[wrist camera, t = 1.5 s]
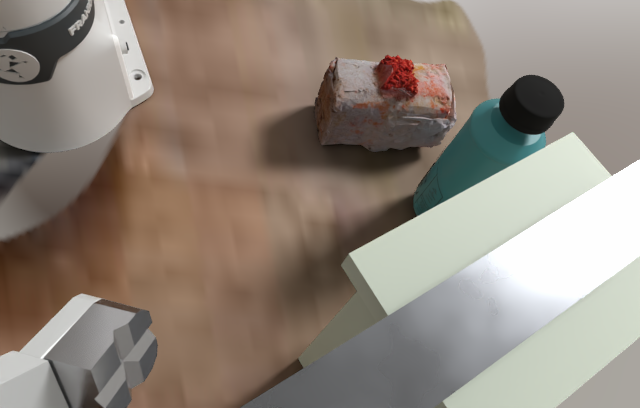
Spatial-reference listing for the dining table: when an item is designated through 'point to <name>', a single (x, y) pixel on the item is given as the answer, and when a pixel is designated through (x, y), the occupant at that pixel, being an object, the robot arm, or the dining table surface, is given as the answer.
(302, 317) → the dining table surface
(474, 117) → the beverage bottle
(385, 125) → the food item
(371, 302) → the sage stand
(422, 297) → the graphite bar
